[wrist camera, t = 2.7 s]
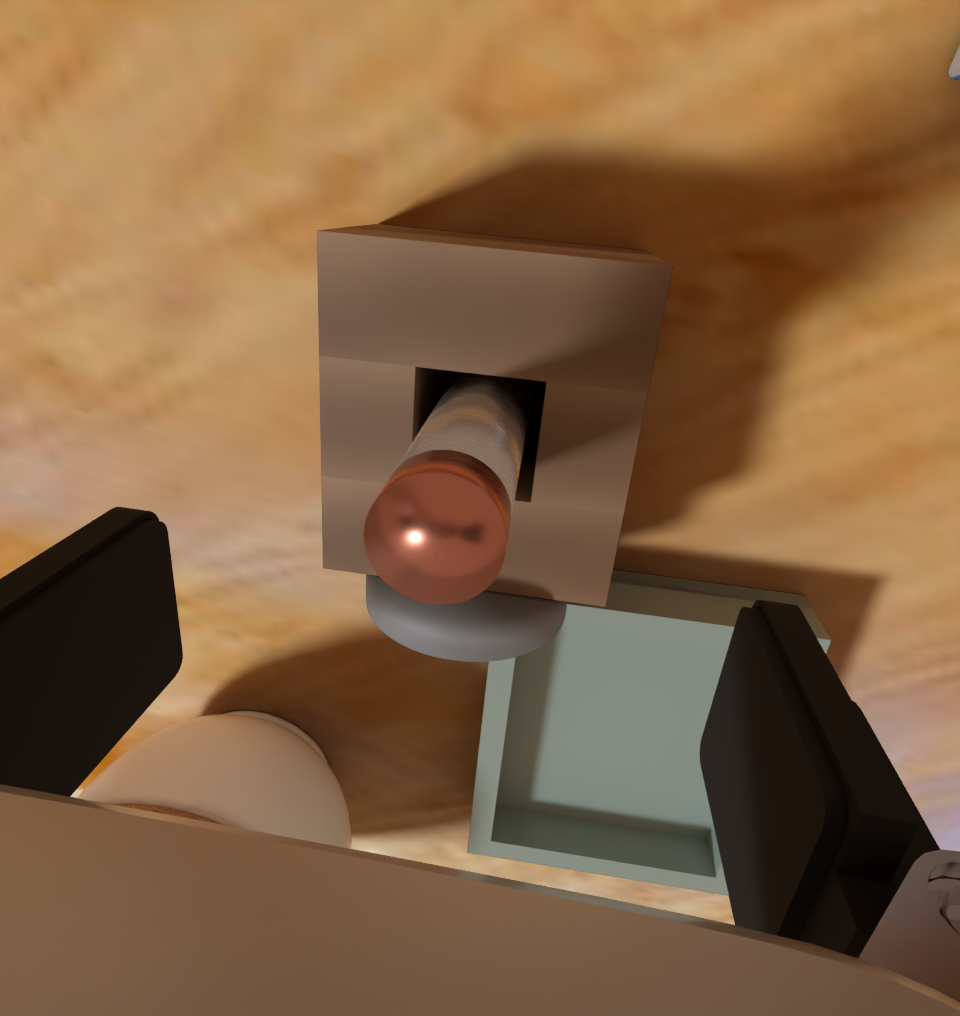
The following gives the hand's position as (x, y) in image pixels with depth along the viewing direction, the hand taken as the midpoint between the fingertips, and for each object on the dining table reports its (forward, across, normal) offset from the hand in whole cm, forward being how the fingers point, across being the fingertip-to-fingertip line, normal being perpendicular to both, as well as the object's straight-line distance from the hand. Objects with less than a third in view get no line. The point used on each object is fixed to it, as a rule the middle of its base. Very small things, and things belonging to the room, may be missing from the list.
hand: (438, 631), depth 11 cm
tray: (+15, -6, +14) cm, 21 cm away
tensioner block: (+15, +1, +1) cm, 15 cm away
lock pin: (+15, +1, 0) cm, 15 cm away
